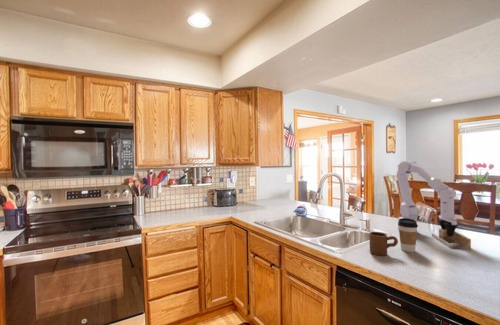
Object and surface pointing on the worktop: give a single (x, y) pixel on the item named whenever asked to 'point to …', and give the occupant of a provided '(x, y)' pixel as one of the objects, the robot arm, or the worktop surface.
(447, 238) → the cabinet block
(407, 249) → the coffee cup
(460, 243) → the board
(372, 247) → the mug
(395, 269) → the worktop surface
